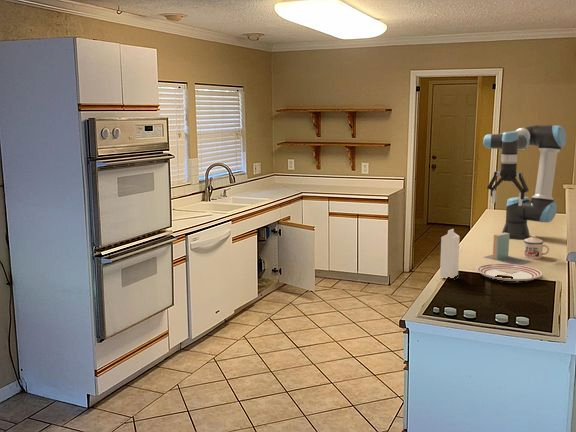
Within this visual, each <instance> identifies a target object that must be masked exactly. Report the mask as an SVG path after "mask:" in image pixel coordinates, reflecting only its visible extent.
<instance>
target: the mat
mask: <svg viewBox="0 0 576 432" xmlns="http://www.w3.org/2000/svg"><path fill="white" fill-rule="evenodd" d="M483 258H485V259H489V260H493V261H497V262H502V263H504V264H515V265H522V266H523V265H526V264H529V263H533V262H534V261H533V260H528V259H525V258H524V259H523V258H519V257H516V256H515V257H514V256H511V255H508V257H505V258H501V259H493V254H490V255H485V256H483Z"/></svg>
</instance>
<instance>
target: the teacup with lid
mask: <svg viewBox="0 0 576 432" xmlns="http://www.w3.org/2000/svg"><path fill="white" fill-rule="evenodd" d="M543 247H545V248H546V249H547V251H546V252H545V253H543ZM549 251H550V247H549V245H546V244H544V241H543V240H542V239H540V238H538V237H537V235H534V234H533V235H531V236H529V238H527V239H523V255H522V256H523V257H524V259H525V258H526V259H532V260H539V259H542V258H543V256H545V255H547V254H549Z"/></svg>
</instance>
